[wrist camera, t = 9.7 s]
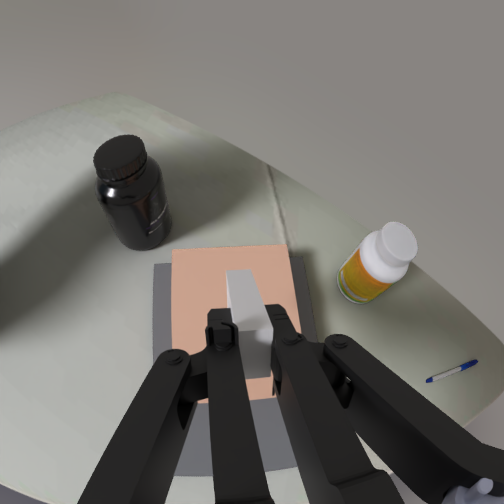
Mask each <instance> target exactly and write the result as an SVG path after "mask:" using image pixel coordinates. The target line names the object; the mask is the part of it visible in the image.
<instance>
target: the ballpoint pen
mask: <svg viewBox="0 0 504 504" xmlns="http://www.w3.org/2000/svg"><path fill="white" fill-rule="evenodd" d="M477 362H478V361H477V360H473V361H470V362H468V363H466V364H463V365H461V366H459V367H457V368H454V369H452V370H449V371H447V372H444V373H441V374H439V375H436V376H433V377H430V378H429V379H427V380H426V383H428V382H433V381H436V380H439V379H441V378H444V377H446V376H449V375H451V374H454V373H456V372H459V371H462V370H464V369H467V368H469V367H471V366H473V365H475V364H476V363H477Z"/></svg>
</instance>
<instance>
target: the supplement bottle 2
mask: <svg viewBox="0 0 504 504" xmlns="http://www.w3.org/2000/svg"><path fill="white" fill-rule="evenodd" d="M417 251H418V245H417V241H416V238H415V236H414V234H413V233H412V232H411V230H410V229H409V228H408V227H407V226H405V225H404V224H402V223H399V222H395V221H394V222H389V223H387V224H385V225H384V226H383V227H382V229H381V230H378V231H374V232H371V233H370V234H368V235H367V236H366V237H365V238H364V239H363V240H362V241H361V243H360V244H359V245H358V246H357V248H356V249H355V250H354V251H353V253H352V254H351V255H350V256H349V257H348V258H347V260H346V261H345V262H344V263H343V265H342V266H341V267H340V269H339V271H338V275H337V282H338V287H339V289H340V291H341V293H342V294H343V295H344V296H345V297H346V298H347V299H348V300H350V301H351V302H354V303H358V304H364V303H368V302H370V301H371V300H373V299H374V298H376V297H377V296H378V295H380V294H381V293H382V292H384V291H385V290H387V289H388V288H389V287H391V286H392V285H393V284H395V283H396V282H397V281H399V280H400V279H401V278H402V277H403V276H404V275H405V273H406V272H407V270H408V266H409V262H411V261H412V260H413V259H414V258H415V256H416V254H417Z"/></svg>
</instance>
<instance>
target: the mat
mask: <svg viewBox="0 0 504 504" xmlns="http://www.w3.org/2000/svg"><path fill="white" fill-rule="evenodd" d="M289 260H290V266H291V272H292V277H293V283H294V289H295V296H296V302H297V308H298V314H299V321H300V327H301V334H303V335H304V336H305V338H306V339H307V341H309V342H315V343H318V341H317V335H316V329H315V323H314V317H313V311H312V305H311V299H310V294H309V288H308V283H307V278H306V272H305V267H304V262H303V257H289ZM171 274H172V263H164V264H154V282H153V365H154V363H155V361H156V359H157V358H158V356H159V355H160V354H161V353H162V352H164V351H166V350H169V349H172V323H171ZM249 401H250V406H251V410H252V415H253V420H254V425H255V430H256V435H257V439H258V444H259V449H260V453H261V458H262V462H263V467H264V471H265V472H268V471H275V470H281V469H287V468H293V467H298V466H297V462H296V459H295V456H294V453H293V450H292V446H291V443H290V440H289V437H288V433H287V430H286V427H285V423H284V420H283V417H282V414H281V410H280V407H279V404H278V400H277V397H274V398H266V399H257V400H249ZM174 476H213V469H212V456H211V442H210V426H209V406H208V403H198V404H197V407H196V410H195V413H194V416H193V419H192V422H191V425H190V428H189V431H188V434H187V437H186V440H185V443H184V446H183V449H182V452H181V455H180V458H179V461H178V464H177V467H176V470H175V473H174Z"/></svg>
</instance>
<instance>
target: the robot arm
mask: <svg viewBox="0 0 504 504" xmlns="http://www.w3.org/2000/svg"><path fill="white" fill-rule="evenodd" d="M226 283H227V308H216V309H211V310H210V311H209V312H208V314H207V326H206V329H205V336H206V345H207V346H206V347H205V348H204V349H203V350H202V351H200V352H198V353H195V354H192V355H189V354H188V353H187V352H186V351H184V350H181V349H169V350H166V351H164V352H162V353H161V354H160V355H159V356H158V358H157V359H156V361H155V363H154V365H153V366H152V368H151V370H150V371H149V373H148V375H147V377H146V378H145V380H144V382H143V383H142V385H141V387H140V389H139V390H138V392H137V394H136V396H135V397H134V399H133V401H132V403H131V404H130V406H129V408H128V410H127V412H126V413H125V415H124V417H123V419H122V420H121V422H120V424H119V426H118V428H117V429H116V431H115V433H114V435H113V437H112V439H111V440H110V442H109V444H108V446H107V448H106V450H105V451H104V453H103V455H102V457H101V459H100V461H99V463H98V464H97V466H96V468H95V470H94V472H93V474H92V476H91V478H90V480H89V482H88V483H87V485H86V487H85V489H84V491H83V493H82V495H81V497H80V499H79V501H78V503H77V504H165V500H166V497H167V494H168V491H169V488H170V485H171V482H172V479H173V476H174V473H175V470H176V467H177V464H178V461H179V458H180V455H181V452H182V449H183V446H184V443H185V440H186V437H187V434H188V431H189V428H190V425H191V422H192V419H193V416H194V413H195V410H196V407H197V404H198V401H199V400H203V399H206V398H208V406H209V426H210V442H211V456H212V469H213V481H214V491H215V504H275V503H274V500H273V499H272V498H271V496H270V492H269V488H268V484H267V480H266V475H265V471H264V467H263V462H262V458H261V453H260V449H259V444H258V439H257V435H256V430H255V425H254V420H253V415H252V410H251V406H250V401H249V396H248V390H247V385H246V380H245V379H256V378H265V377H271V370H272V373H273V387H272V396H275V394H276V397H277V400H278V404H279V407H280V410H281V414H282V417H283V420H284V423H285V427H286V430H287V433H288V437H289V440H290V443H291V446H292V450H293V453H294V456H295V459H296V462H297V466H298V469H299V472H300V475H301V478H302V481H303V485H304V488H305V491H306V494H307V497H308V500H309V503H310V504H404V501H403V499H402V498H401V496H400V494H399V492H398V490H397V488H396V486H395V485H394V483H393V481H392V479H391V477H390V476H389V475H388V473H387V472H385V471H384V470H379V469H376V468H374V467H373V465H372V463H371V461H370V459H369V457H368V456H367V454H366V452H365V450H364V448H363V446H362V444H361V442H360V440H359V438H358V436H357V434H358V435H359V436H360V437H361V438H362V439H363V440H364V442H365V443H366V444H367V445H368V446H369V447H370V448H371V449H372V450H373V451H374V452H375V453H376V454H377V455H378V456H379V458H380V459H381V460H382V461H383V462H384V463H385V464H386V465H387V466H388V467H389V468H390V469H391V470H392V471H393V472H394V473H395V474H396V475H397V476H398V477H399V478H400V479H401V480H402V481H403V482H404V483H405V484H406V485H407V486H408V487H409V488H410V489H411V490H412V491H413V492H414V493H415V494H416V495H417V496H418V497H419V498H421V499H422V500H423V501H425V502H426V503H428V504H504V450H501V449H498V448H495V447H492V446H489V445H486V444H483V443H481V442H480V441H479V440H477V439H476V438H475V437H473V436H472V435H471V434H470V433H469V432H467V431H466V430H465V429H464V428H462V427H461V426H460V425H459V424H457V423H456V422H455V421H454V420H452V419H451V418H450V417H449V416H447V415H446V414H445V413H444V412H442V411H441V410H440V409H439V408H437V407H436V406H435V405H434V404H432V403H431V402H430V401H429V400H427V399H426V398H425V397H424V396H422V395H421V394H420V393H419V392H417V391H416V390H415V389H414V388H412V387H411V386H410V385H409V384H407V383H406V382H405V381H404V380H403V379H401V378H400V377H399V376H398V375H396V374H395V373H394V372H393V371H391V370H390V369H389V368H388V367H386V366H385V365H384V364H383V363H381V362H380V361H379V360H378V359H377V358H375V357H374V356H373V355H372V354H370V353H369V352H368V351H367V350H365V349H364V348H363V347H362V346H360V345H359V344H358V343H357V342H356V341H354V340H353V339H352V338H350V337H348V336H346V335H343V334H334V335H330V336H328V337H327V338H326V339H325V342H324V343H315V342H309V341H307V339H306V338H305V336H304V335H303V334H301V333H299V332H296V330H295V328H294V326H293V324H292V322H291V320H290V318H289V316H288V315H287V312H286V310H285V308H284V307H282V306H281V305H280V304H269V305H264V303H263V300H262V298H261V295H260V293H259V290H258V287H257V285H256V282H255V279H254V277H253V274H252V272H251V269H245V270H226ZM347 377H348V378H349V379H350V380H351V381H350V380H349V379H348V378H347ZM356 433H357V434H356Z"/></svg>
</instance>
